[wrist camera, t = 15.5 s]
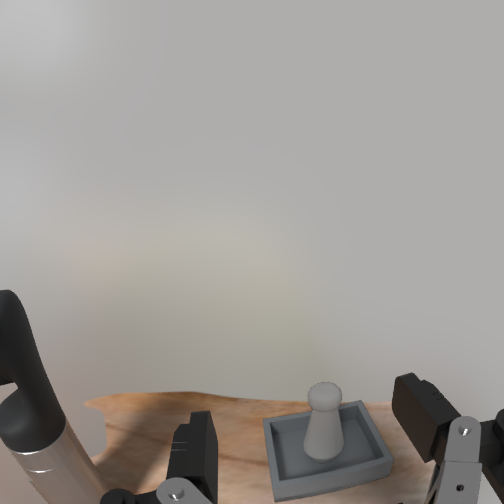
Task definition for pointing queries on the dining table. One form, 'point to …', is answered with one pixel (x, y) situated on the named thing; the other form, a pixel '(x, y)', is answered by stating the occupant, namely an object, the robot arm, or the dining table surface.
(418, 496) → the dining table surface
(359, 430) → the tray
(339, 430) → the salt shaker
